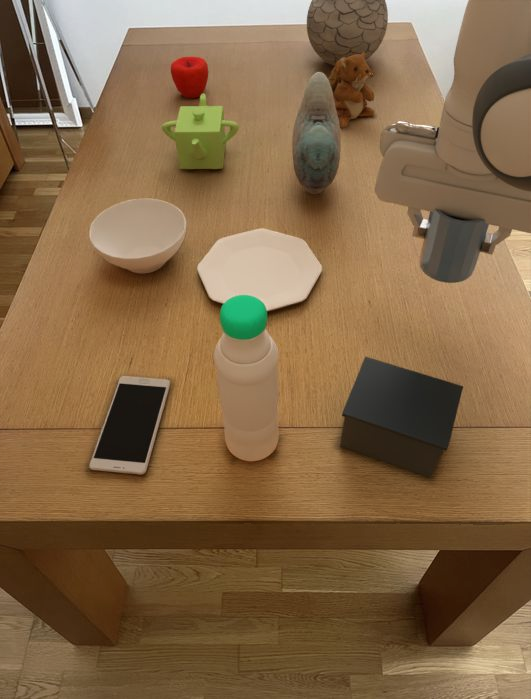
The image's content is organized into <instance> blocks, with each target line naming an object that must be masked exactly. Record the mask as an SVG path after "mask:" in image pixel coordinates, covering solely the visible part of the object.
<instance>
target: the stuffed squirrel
mask: <svg viewBox="0 0 531 699" xmlns="http://www.w3.org/2000/svg"><path fill="white" fill-rule="evenodd" d="M365 57H366V53H364V52H363V53H362V54H356V55H352V56H349V57H348V58H345V57H343V58H341V59H340V60H339V61H337V63H336V65H335V66H333V67H332V68H333V69H331V71H330V76H329V78H328V80H329V82H330V85H331V88H332V92H333V98H334V102H335V108H336V111H337V115H338V119H339V124H340V129H343V128H347V126H348V125H349V123H350V121H351V120H354V119H357V118H358V117H373V116H374V115H375V110H374V108H371V107H368V102H369V103H371V102H373V101H374V100H375V92H374V91H373V89H371V88H370V86H369V85H367V83H365V81H367V80H368V79H369V78H370V75H371V78H373V77H374V76H376V75H375V72H373V70H371V69H370V66H369V65H368V63H367V60H365Z"/></svg>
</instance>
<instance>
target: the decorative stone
mask: <svg viewBox="0 0 531 699" xmlns="http://www.w3.org/2000/svg"><path fill="white" fill-rule="evenodd" d="M291 140H292V141H291V148H292V149H291V152H292V153H291V154H292V164H293V169H294V173H295V176H296V178H297V180H298V183H299V184H300V185H301V187H302V188H303V189H304V190H305V191H306V192H307V193H309V194H310V195H318V194H321V193H322V192H324V191H325V190H326V189H327V188H328V187H329V186H330V185H331V184H332V183H333V181H334V180H335V178H336V176H337V174H338V170H339V167H340V162H341V149H342V148H341V145H342V134H341V127H340V124H339V119H338V115H337V111H336V108H335V102H334V98H333V92H332V88H331V85H330V82H329V78H328V77H327V75H326V74H325V73H324V72H323V71H316V72H315V73H314V74H313V75H312V76H311V77H310V78H309V80H308V82H307V84H306V86H305V90H304V93H303V97H302V100H301V102H300V107H299V109H298V111H297V114H296V117H295V120H294V124H293V128H292V139H291Z"/></svg>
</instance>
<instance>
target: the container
mask: <svg viewBox="0 0 531 699" xmlns="http://www.w3.org/2000/svg"><path fill="white" fill-rule="evenodd" d="M463 389H464V386H463V385H461V384H457V383H455V382H450V381H447V380H444V379H441V378H438V377H434V376H431V375H428V374H424V373H421V372H418V371H415V370H411V369H409V368H405V367H401V366H399V365H395V364H391V363H388V362H386V361H381V360H378V359H375V358H372V357H369V356H365V357H364V358H363V360H362V363H361V365H360V368H359V371H358V373H357V376H356V378H355V381H354V383H353V386H352V388H351V390H350V392H349V395H348V398H347V400H346V403H345V406H344V408H343V410H342V413H341V417H344V420H343V425H342V431H341V436H340V444H339V446H340V447H341V448H344V449H347V450H350V451H353V452H355V453H358V454H360V455H364V456H367V457H369V458H371V459H375V460H378V461H380V462H384V463H387V464H389V465H392V466H395V467H398V468H401V469H403V470H406V471H409V472H412V473H415V474H417V475H421V476H424V477H426V478H429V479H432V477H433V475H434V473H435V470H436V468H437V466H438V464H439V461H440V459H441V458H442V454H443V452H447V451H448V449H449V445H450V441H451V437H452V434H453V428H454V425H455V421H456V417H457V414H458V409H459V407H460V406H459V405H460V401H461V398H462V393H463Z"/></svg>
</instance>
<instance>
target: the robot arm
mask: <svg viewBox="0 0 531 699" xmlns="http://www.w3.org/2000/svg"><path fill="white" fill-rule="evenodd" d="M453 71H454V72H453V80H452V83H451V86H450V88H449V90H448V92H447V93H446V96H445V99H444V103H443V106H442V107H443V108H442V112H441V115H440V116H441V117H440V122H439V125H438V126H432V125H428V124H416V123H410V122H409V121H406V120H405V121H402V120H399V121H397V122H396V123H393V124H389V125H387V126H386V127H385V128H384V129H383V130H382V132H381V135H380V139H379V140H380V142H379V151H380V154H381V156H382V160H381V162H380V166H379V169H378V172H377V177H376V180H375V185H374V194H375V195H376V197H377V199H378V200H379V201H381V202H384V203H388V204H393V205H398V206H402V207H407V212H406V213H407V216H408V218H409V220H410V221H411V224H412V226H413V230H412V235H411V236H412V237H414V238H418V239H423V240H424V237H425V233H426V228H427V223H428V219H426V218H424V217H423V215H422V211H425V212H429V213H430V212H433V211H434V209H438V210H440V211H441V212H442V213H443V214H445V215H448V216H453V217H457V218H462V219H466V220H471V221H472V220H477V219H484V220H485V224H489V226H494V227H498V229H497V230H496V231H495V232H494V233H488V232H486V235H485V238H484V241H483V243H482V247H481V250H480V253H484V254H487V255H490V256H493V254H494V251H495V248H496V245H497V246H498V245H499V244H501V242H503V241H505V240H506V239H508V238H510V237H511V233H512V231H518V232H521V233H526V234H531V0H468V1H467V3H466V7H465V10H464V14H463V18H462V20H461V25H460V29H459V33H458V37H457V41H456V44H455V50H454V55H453Z"/></svg>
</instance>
